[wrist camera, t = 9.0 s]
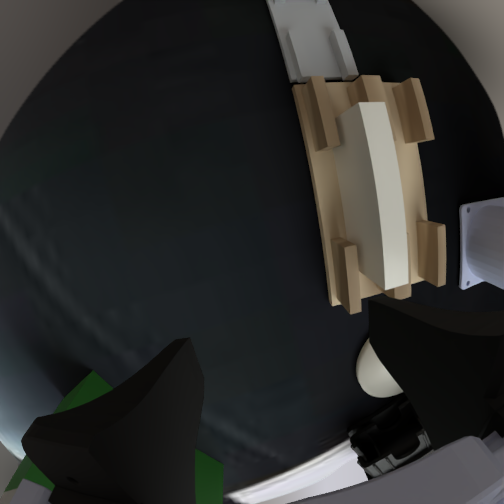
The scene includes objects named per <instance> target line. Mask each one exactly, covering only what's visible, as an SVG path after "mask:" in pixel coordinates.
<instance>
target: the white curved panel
mask: <svg viewBox="0 0 504 504" xmlns="http://www.w3.org/2000/svg"><path fill="white" fill-rule="evenodd" d="M335 122H336V126H337V131H338V135H339V140H340V146H337V147H335V148H332V150H333V155H334V160H335V165H336V171H337V176H338V182H339V188H340V194H341V200H342V206H343V213H344V220H345V227H346V235H347V240H348V241H350V242H352V243H353V244H355V245H356V247H357V257H358V268H359V272H361V273H362V274H364V275H365V276H366V277H368V278H369V279H370V280H372V281H373V282H375V283H376V284H377V285H379V286H380V287H381V288H383V289H384V290H388V289H392V288H395V287H398V286H402V285H405V284H408V283H409V282H408V249H407V233H406V221H405V211H404V202H403V194H402V186H401V179H400V173H399V166H398V161H397V155H396V150H395V145H394V140H393V135H392V130H391V126H390V122H389V117H388V113H387V109H386V105H385V102H358V103H357V104H355V105H354V106H352V107H351V108H349V109H348V110H346V111H345V112H343V113H342V114H341V115H339V116H338V117H336V118H335Z"/></svg>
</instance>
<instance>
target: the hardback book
mask: <svg viewBox="0 0 504 504" xmlns="http://www.w3.org/2000/svg"><path fill="white" fill-rule="evenodd" d="M111 390H113V388H112V387H111V386H110V385H109V384H108V383H106V382H105V381H104V380H103V379H102V378H101V377H100V376H99V375H98V374H97V373H96V372H94V371H92V372H91V373H90V374H89V375H87V376H86V377H85V378H84V379H83V380H82V381H81V382H80V383H79V384H78V385H77V386H76V387H75V388H74V389H73V390H72V391H71V392H70V393H69V394H68V395H66V396H65V397H64V399H63V400H62V402H61V403H60V404H59V406H58V407H57V409H56V410H55V412H54V413H53V414H55V413H59V412H63V411H66V410H69V409H72V408H75V407H77V406H80V405H82V404H85V403H87V402H90V401H92V400H94V399H96V398H98V397H100V396H101V395H103V394H105V393H107V392H109V391H111ZM22 479H27V480H30V481H32V482H34V483H37V484H39V485H42V486H44V487H46V488H48V489H49V490H51V491H53V489H54V487H55V485H54V484H53V483H52V482H51V481H50V480H49V479H48V478H47V477H46V476H45V475H44V474H43V473H42V472H41V471H40V470H39V469H38V468H37V467H36V466H35V464H34V463H33V462H32V461H31V460H30V459H29V457H28V456H27V455H26V456H25V457H24V459H23V460H22V462H21V464H20V465H19V467H18V469H17V470H16V472H15V474H14V475H13V477H12V479H11V481H10V482H9V484H8V486H7V487H6V489H5V491H4V493H3V495H2V497H1V499H0V504H9V503H10V502H11V500H12V498H13V496H14V494H15V492H16V490H17V488H18V487H19V485H20V483H21V481H22ZM195 494H196V504H223V464H222V463H220V462H218V461H216V460H215V459H213V458H211V457H209V456H207V455H206V454H204V453H202V452H201V451H199V450H197V449H195Z"/></svg>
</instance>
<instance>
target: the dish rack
mask: <svg viewBox="0 0 504 504" xmlns="http://www.w3.org/2000/svg"><path fill="white" fill-rule="evenodd" d="M292 91H293V95H294V99H295V104H296V108H297V112H298V116H299V121H300V125H301V130H302V134H303V139H304V143H305V148H306V153H307V158H308V163H309V168H310V173H311V179H312V184H313V190H314V195H315V201H316V207H317V213H318V219H319V226H320V232H321V239H322V246H323V253H324V261H325V269H326V277H327V285H328V294H329V302H330V304H331V305H332V306H335V305H339V304H342V305H343V306H344V308H345V309H346V310H347V311H348V312H349V313H350V314H354V313H357V312H361V299H362V298H365V297H369V296H373V295H376V294H380V293H384V294H386V295H387V296H388V297H392V298H396V299H400V300H401V299H404V298H407V297H410V296H411V284H413V283H416V282H419V281H422V280H426V281H428V282H430V283H432V284H433V285H435V286H437V287H439V286H442V285H445V281H446V232H445V225H444V224H439V223H435V222H431V221H427V210H426V200H425V191H424V183H423V176H422V169H421V163H420V157H419V151H418V146H417V143H418V142H423V141H428V140H433V139H434V134H433V130H432V125H431V121H430V117H429V113H428V109H427V105H426V101H425V97H424V94H423V90H422V87H421V84H420V81H419V79H417V78H409V79H407V80H406V81H404V82H402V83H387V82H382V81H381V78H380V76H376V75H361V76H360V77H359V78H357V79H356V80H355V81H354V82H330V83H325V79H324V76H311V77H310V78H309V80H308V81H307V83H306V84H299V85H294V86H293V88H292ZM358 102H385V105H386V109H387V113H388V117H389V122H390V126H391V130H392V135H393V140H394V145H395V150H396V155H397V161H398V166H399V173H400V179H401V186H402V194H403V202H404V211H405V221H406V233H407V249H408V282H409V283H408V284H405V285H402V286H398V287H395V288H392V289H388V290H384V289H383V288H381V287H380V286H379V285H377V284H376V283H375V282H373V281H372V280H370V279H369V278H368V277H366V276H365V275H364V274H362V273H361V272H359V268H358V257H357V247H356V245H355V244H353V243H352V242H350V241H348V240H347V235H346V227H345V220H344V213H343V206H342V200H341V194H340V188H339V182H338V176H337V171H336V165H335V160H334V155H333V150H332V148H335V147H337V146H340V140H339V135H338V131H337V126H336V122H335V118H336V117H338V116H339V115H341V114H342V113H343V112H345V111H346V110H348V109H349V108H351V107H352V106H354V105H355V104H357V103H358Z"/></svg>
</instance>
